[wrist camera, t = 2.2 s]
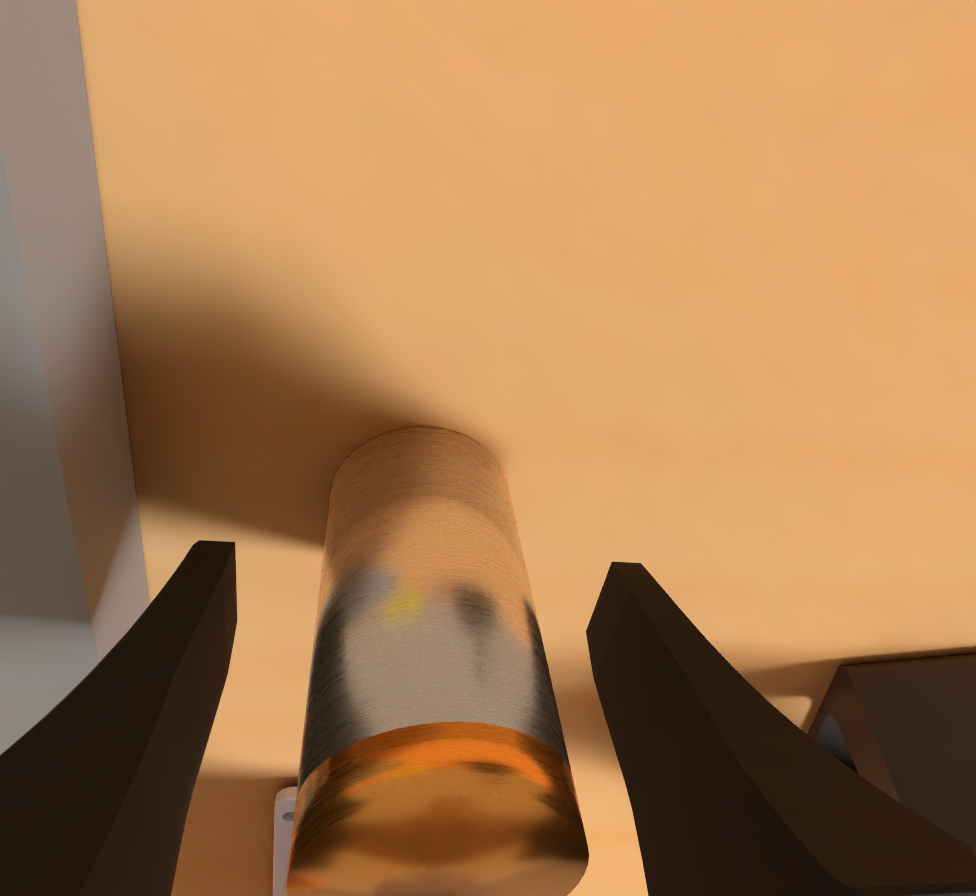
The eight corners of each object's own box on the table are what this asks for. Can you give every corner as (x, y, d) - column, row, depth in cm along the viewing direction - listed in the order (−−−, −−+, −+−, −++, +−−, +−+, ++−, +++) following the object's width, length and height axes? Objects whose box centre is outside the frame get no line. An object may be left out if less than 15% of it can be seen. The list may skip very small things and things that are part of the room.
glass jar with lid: (491, 570, 17) (552, 938, 11) (325, 561, 17) (283, 951, 10) (524, 435, 15) (624, 794, 9) (335, 419, 14) (289, 798, 8)
